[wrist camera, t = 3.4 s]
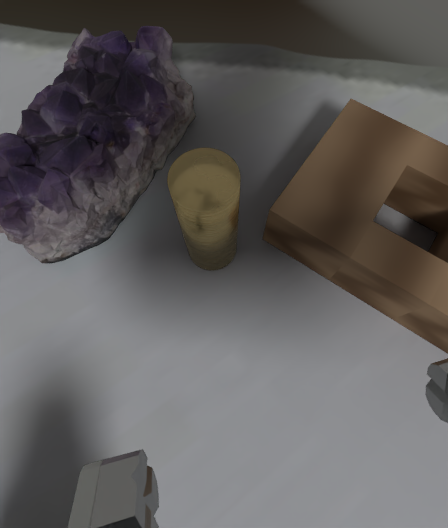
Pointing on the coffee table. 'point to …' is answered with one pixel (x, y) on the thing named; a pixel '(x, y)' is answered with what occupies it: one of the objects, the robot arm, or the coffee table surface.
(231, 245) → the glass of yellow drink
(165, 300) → the coffee table surface
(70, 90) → the geode
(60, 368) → the coffee table surface
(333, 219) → the walnut hole block
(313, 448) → the coffee table surface
